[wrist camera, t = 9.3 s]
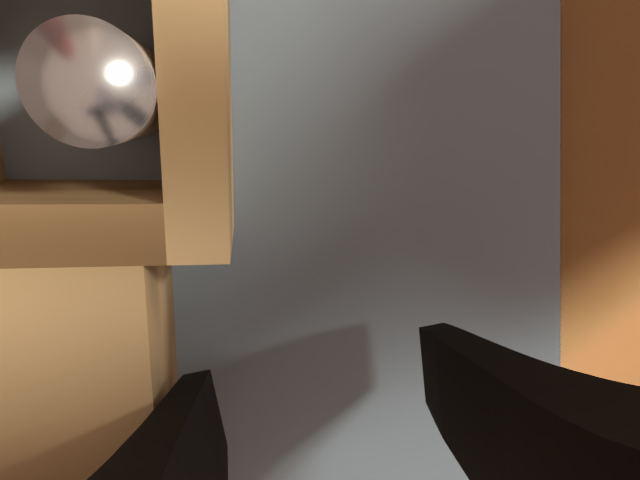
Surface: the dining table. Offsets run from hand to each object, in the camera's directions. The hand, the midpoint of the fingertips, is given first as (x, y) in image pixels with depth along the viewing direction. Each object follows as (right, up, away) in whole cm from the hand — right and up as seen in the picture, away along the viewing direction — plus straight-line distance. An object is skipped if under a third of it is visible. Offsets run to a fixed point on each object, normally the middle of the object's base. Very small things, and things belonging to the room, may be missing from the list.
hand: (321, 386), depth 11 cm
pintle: (-4, +7, 0) cm, 8 cm away
